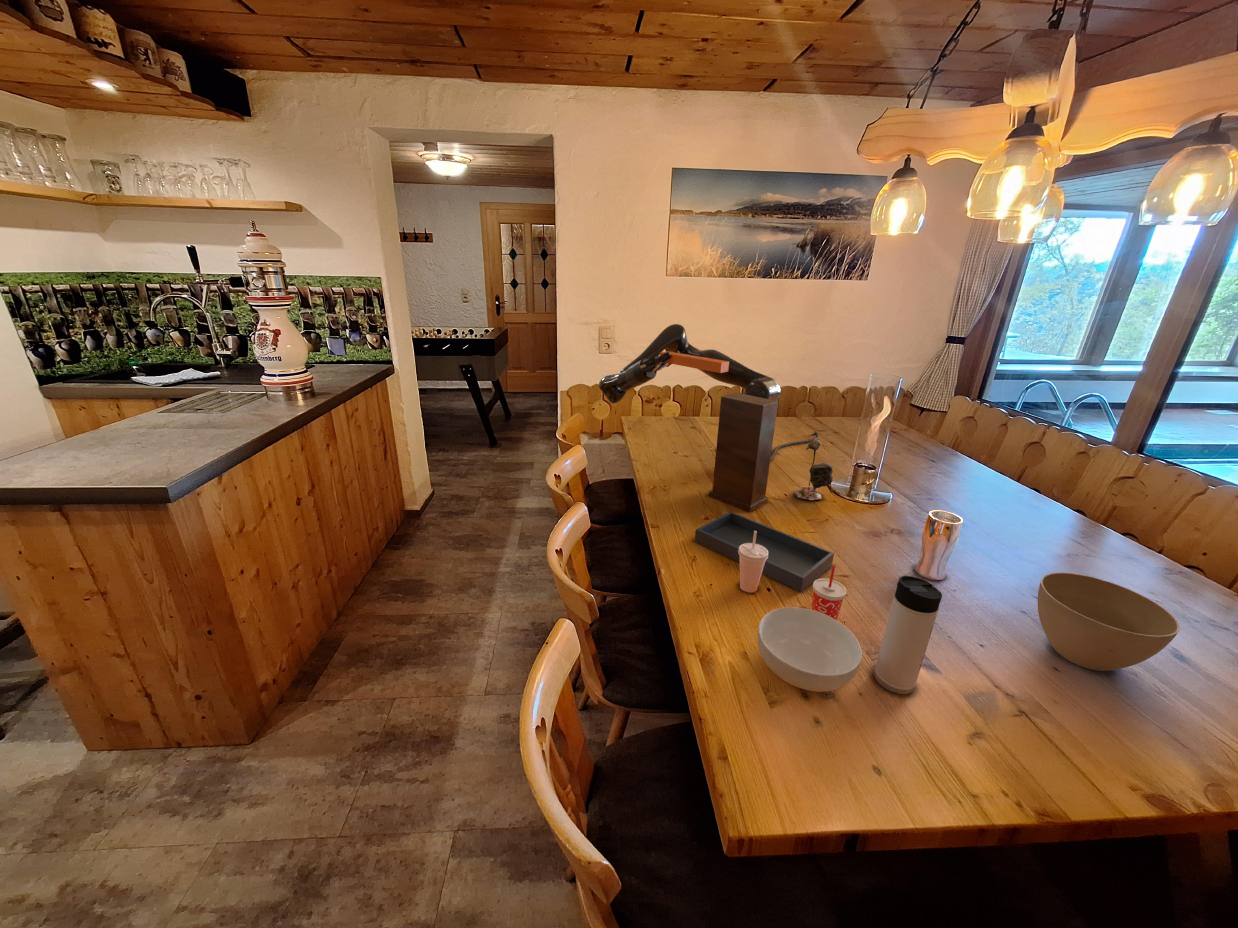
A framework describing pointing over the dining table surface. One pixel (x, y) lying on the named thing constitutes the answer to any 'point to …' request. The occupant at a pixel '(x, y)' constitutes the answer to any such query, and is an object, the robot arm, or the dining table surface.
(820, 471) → the plant with pod
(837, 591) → the beverage cup
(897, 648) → the travel mug
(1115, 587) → the brown slanted bowl
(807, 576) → the tray
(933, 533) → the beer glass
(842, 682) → the cereal bowl
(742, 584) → the smoothie
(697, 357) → the orange bar
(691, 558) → the dining table surface
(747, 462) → the stand
